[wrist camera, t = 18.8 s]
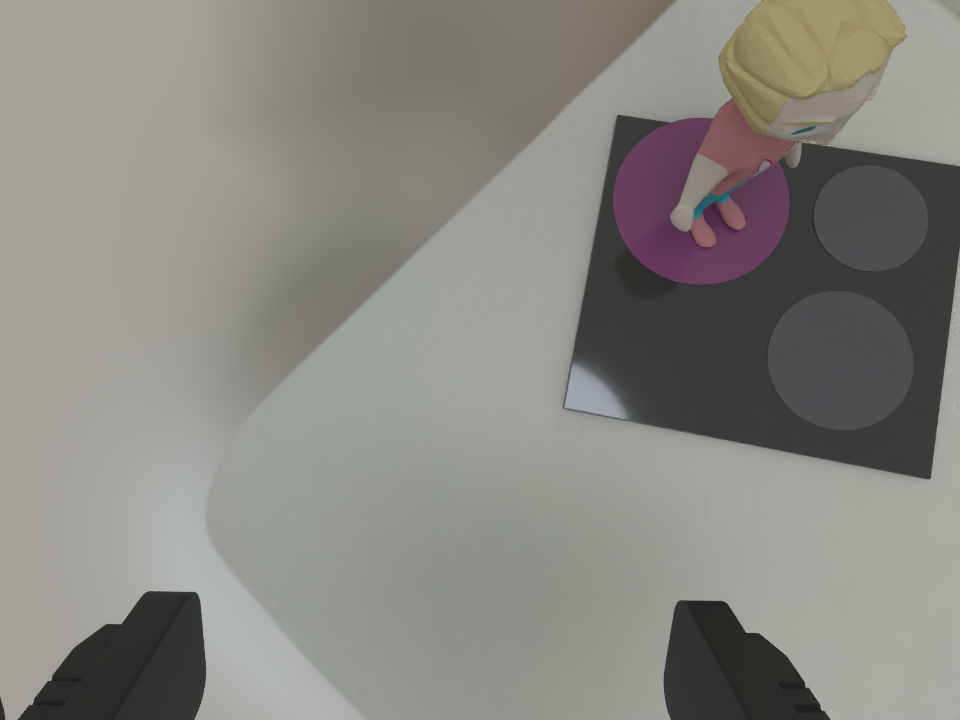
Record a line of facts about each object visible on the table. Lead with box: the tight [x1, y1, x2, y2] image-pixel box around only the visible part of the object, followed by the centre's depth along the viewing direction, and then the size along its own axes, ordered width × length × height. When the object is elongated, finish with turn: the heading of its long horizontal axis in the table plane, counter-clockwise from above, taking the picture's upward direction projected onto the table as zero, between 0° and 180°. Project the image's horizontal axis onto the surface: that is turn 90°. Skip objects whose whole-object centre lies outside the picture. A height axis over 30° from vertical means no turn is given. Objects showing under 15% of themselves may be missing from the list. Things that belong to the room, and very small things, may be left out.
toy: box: [670, 0, 907, 248], centre depth 26 cm, size 7×5×15 cm
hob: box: [563, 115, 960, 479], centre depth 33 cm, size 18×16×1 cm
